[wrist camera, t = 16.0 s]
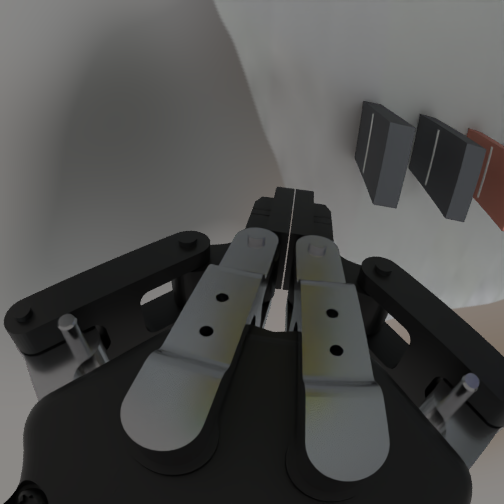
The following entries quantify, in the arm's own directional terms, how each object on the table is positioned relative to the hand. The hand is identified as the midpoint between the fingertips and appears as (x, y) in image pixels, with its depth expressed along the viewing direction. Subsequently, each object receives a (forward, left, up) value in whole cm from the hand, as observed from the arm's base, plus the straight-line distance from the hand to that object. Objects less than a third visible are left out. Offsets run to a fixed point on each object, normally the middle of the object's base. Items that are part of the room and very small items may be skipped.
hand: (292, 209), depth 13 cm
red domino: (-19, 0, -20) cm, 27 cm away
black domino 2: (-13, 0, -20) cm, 23 cm away
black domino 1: (-7, 0, -20) cm, 21 cm away
